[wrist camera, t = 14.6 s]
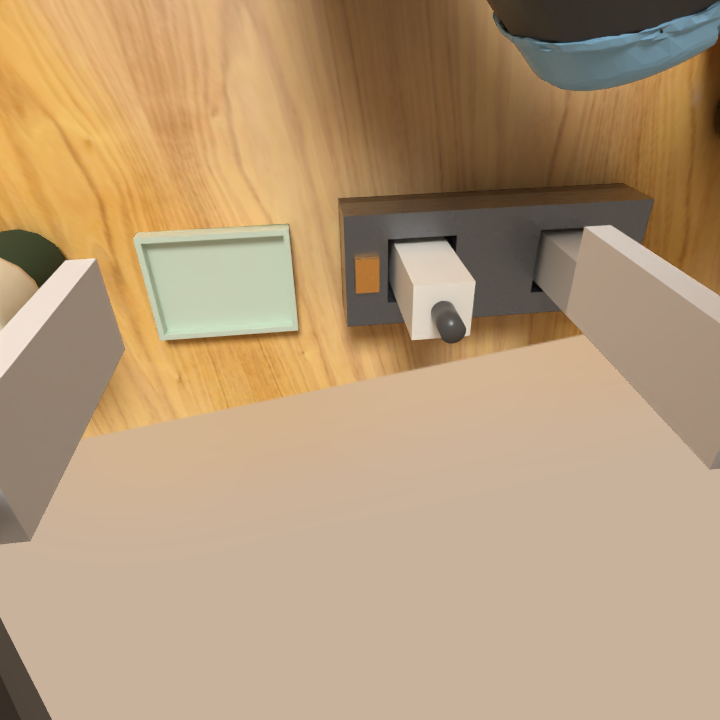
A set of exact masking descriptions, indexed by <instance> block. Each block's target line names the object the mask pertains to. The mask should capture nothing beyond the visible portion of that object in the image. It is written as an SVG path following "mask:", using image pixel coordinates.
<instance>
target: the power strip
mask: <svg viewBox="0 0 720 720" xmlns="http://www.w3.org/2000/svg"><path fill="white" fill-rule="evenodd" d="M653 202H654V199H653V198H651V197H649V196H647V195H645V194H643V193H641V192H639V191H637V190H635V189H633V188H631V187H629V186H627V185H625V184H623V183H617V184H598V185H580V186H561V187H542V188H524V189H505V190H486V191H468V192H449V193H431V194H412V195H393V196H375V197H356V198H338V203H339V226H340V249H341V272H342V295H343V305H344V311H345V316H346V321H347V326H348V327H350V326H363V325H377V324H390V323H404V319H403V316H402V314H401V311H400V308H399V306H398V303H397V301H396V298H395V295H394V293H393V290H392V287H391V285H390V282H389V239H403V238H419V237H436V236H444V238H445V239H446V240H447V242H448V243H449V245H450V246H451V247H452V249H453V250H454V252H455V253H456V255H457V256H458V257H459V259H460V260H461V262H462V263H463V264H464V266H465V267H466V269H467V270H468V272H469V273H470V274H471V276H472V277H473V279H474V280H475V281H476V283H475V292H474V301H473V310H472V317H485V316H498V315H512V314H525V313H539V312H552V311H562V310H561V309H560V308H559V307H558V306H557V305H556V304H555V303H554V302H553V301H552V300H551V298H550V297H549V296H548V295H547V294H546V293H545V292H544V291H543V290H542V289H541V288H540V287H539V286H538V285H537V283H536V282H535V281H534V280H533V275H534V269H535V263H536V257H537V252H538V246H539V240H540V234H541V230H551V229H568V228H584V227H588V226H604V225H611V226H613V227H615V228H616V229H618V230H619V231H621V232H622V233H624V234H625V235H627V236H628V237H630V238H631V239H633V240H635V241H636V242H638V243H639V244H642V241H643V237H644V234H645V230H646V227H647V223H648V220H649V216H650V213H651V209H652V206H653Z"/></svg>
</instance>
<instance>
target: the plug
mask: <svg viewBox="0 0 720 720" xmlns="http://www.w3.org/2000/svg"><path fill="white" fill-rule="evenodd" d="M389 282H390V285H391V287H392V290H393V293H394V295H395V298H396V301H397V303H398V306H399V308H400V311H401V314H402V316H403V319H404V322H405V324H406V327H407V329H408V332H409V335H410V337H411V340H422V339H435V338H442V339H443V340H444V341H445V342H447V343H456V342H458V341H460V340H461V339H462V338H463V337H464V336H470V329H471V320H472V310H473V301H474V292H475V283H476V281H475V280H474V279H473V277H472V276H471V274H470V273H469V272H468V270H467V269H466V267H465V266H464V264H463V263H462V262H461V260H460V259H459V257H458V256H457V255H456V253H455V252H454V250H453V249H452V247H451V246H450V245H449V243H448V242H447V240H446V239H445V238H444V236H436V237H419V238H403V239H389Z"/></svg>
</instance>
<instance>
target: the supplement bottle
mask: <svg viewBox="0 0 720 720" xmlns="http://www.w3.org/2000/svg"><path fill="white" fill-rule="evenodd" d="M715 128H716V132H717V135H718V137H719V138H720V102H719V104H718V107H717V110H716V115H715Z"/></svg>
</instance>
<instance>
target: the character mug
mask: <svg viewBox="0 0 720 720" xmlns="http://www.w3.org/2000/svg"><path fill="white" fill-rule="evenodd" d="M64 261H65V258H64V257H63V255H62V254H61V253H60V251H59V250H58V248H57V247H56V246H55V244H53V243H52V242H50V241H49V240H47V239H45V238H44V237H42V236H41V235H39V234H37V233H32V232H28V231H23V230H19V229H17V230H10V231H3V232H0V331H1V330H2V329H3V328H4V327H5V326H6V325H7V324H8V322H9V321H10V320H11V319H12V318H13V317H14V316H15V315H16V314H17V313H18V312H19V310H20V309H21V308H22V307H23V306H24V305H25V304H26V303H27V302H28V301H29V300H30V298H31V297H32V296H33V295H34V294H35V293H36V292H37V291H38V290H39V289H40V288H41V287H42V285H43V284H44V283H45V282H46V281H47V280H48V279H49V278H50V277H51V276H52V275H53V273H54V272H55V271H56V270H57V269H58V268H59V267H60V266H61V265H62V264H63V263H64Z"/></svg>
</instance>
